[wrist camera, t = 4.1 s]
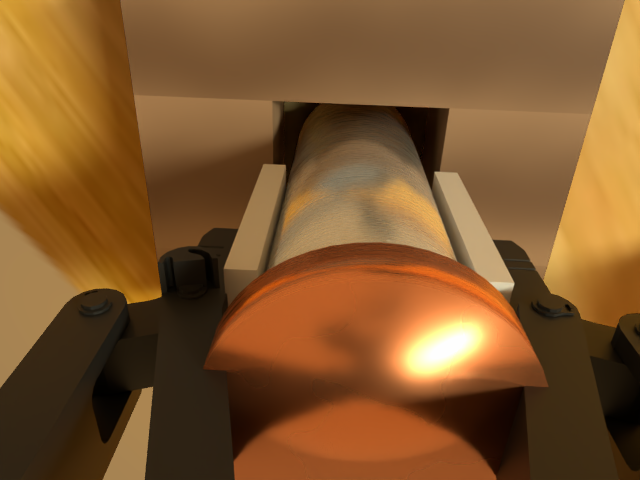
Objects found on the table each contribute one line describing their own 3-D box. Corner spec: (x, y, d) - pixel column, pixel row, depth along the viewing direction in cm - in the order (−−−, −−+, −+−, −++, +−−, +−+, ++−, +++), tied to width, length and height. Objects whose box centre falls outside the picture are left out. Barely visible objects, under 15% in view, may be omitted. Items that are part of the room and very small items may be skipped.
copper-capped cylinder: (281, 71, 21) (176, 271, 8) (437, 78, 21) (597, 291, 8) (282, 211, 24) (208, 521, 11) (417, 217, 24) (507, 539, 11)
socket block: (156, -33, 20) (115, -31, 16) (576, -17, 19) (627, -11, 16) (189, 274, 26) (166, 322, 23) (501, 289, 26) (525, 340, 23)
